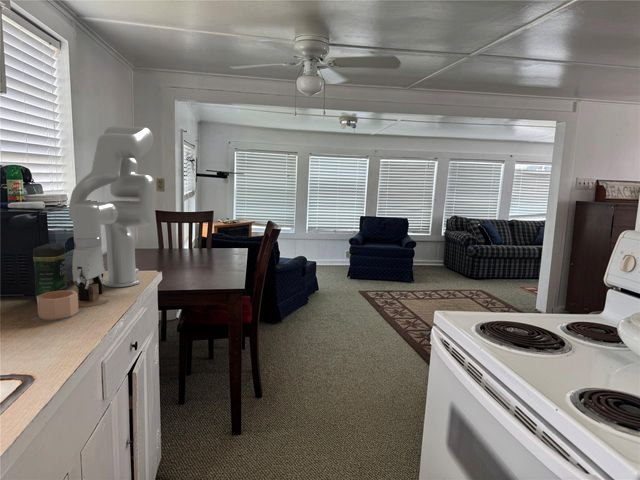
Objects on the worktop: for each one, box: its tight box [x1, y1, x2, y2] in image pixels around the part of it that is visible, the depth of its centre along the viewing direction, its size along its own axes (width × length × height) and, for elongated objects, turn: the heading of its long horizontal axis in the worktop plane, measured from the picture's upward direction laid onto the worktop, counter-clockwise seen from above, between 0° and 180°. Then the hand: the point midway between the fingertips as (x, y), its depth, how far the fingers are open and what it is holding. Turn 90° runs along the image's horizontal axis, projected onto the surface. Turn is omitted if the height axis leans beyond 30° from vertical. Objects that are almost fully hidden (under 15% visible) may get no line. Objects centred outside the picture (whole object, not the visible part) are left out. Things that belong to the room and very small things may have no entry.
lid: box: [78, 283, 111, 308], centre depth 129 cm, size 11×11×6 cm
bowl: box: [36, 289, 80, 320], centre depth 116 cm, size 9×9×6 cm
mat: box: [29, 309, 86, 322], centre depth 117 cm, size 10×10×1 cm
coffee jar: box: [32, 242, 69, 302], centre depth 130 cm, size 10×8×19 cm
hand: (91, 297), depth 129 cm, fingers open, 6 cm apart
